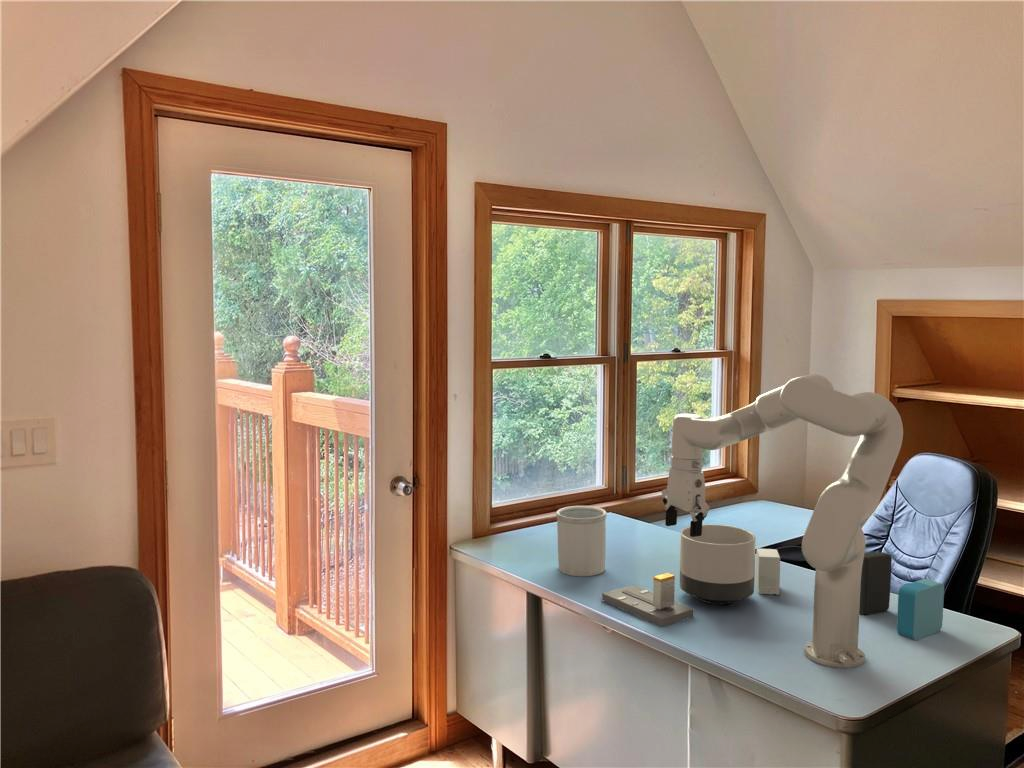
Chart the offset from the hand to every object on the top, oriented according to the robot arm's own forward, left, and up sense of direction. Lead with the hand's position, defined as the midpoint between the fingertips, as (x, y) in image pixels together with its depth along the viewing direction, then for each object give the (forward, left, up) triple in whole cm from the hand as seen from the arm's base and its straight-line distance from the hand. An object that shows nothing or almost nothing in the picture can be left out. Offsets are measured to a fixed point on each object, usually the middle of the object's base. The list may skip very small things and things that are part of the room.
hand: (683, 530), depth 209 cm
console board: (+5, +8, -22) cm, 24 cm away
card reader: (0, -49, -22) cm, 54 cm away
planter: (+11, -12, -22) cm, 27 cm away
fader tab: (0, +5, -19) cm, 20 cm away
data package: (-14, -54, -22) cm, 60 cm away
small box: (+17, -28, -22) cm, 39 cm away
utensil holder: (+37, +21, -22) cm, 48 cm away
